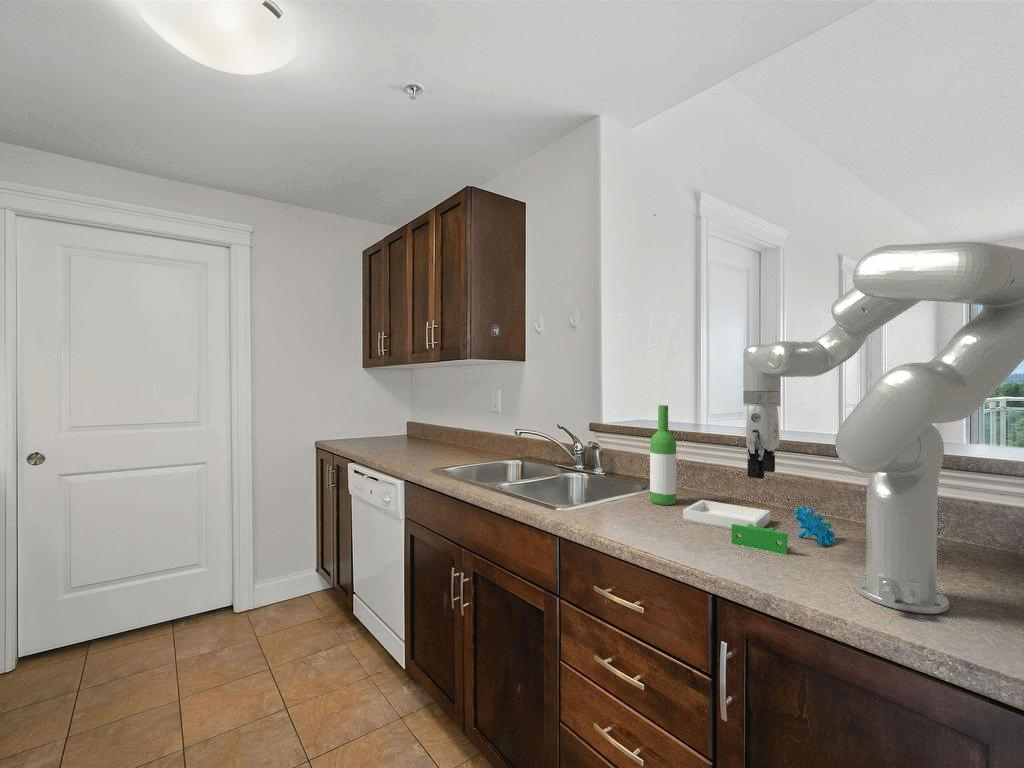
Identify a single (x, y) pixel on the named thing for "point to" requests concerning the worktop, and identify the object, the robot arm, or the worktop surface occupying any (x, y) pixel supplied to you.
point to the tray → (725, 515)
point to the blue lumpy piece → (814, 526)
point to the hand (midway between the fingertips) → (761, 474)
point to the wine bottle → (663, 462)
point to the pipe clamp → (759, 538)
